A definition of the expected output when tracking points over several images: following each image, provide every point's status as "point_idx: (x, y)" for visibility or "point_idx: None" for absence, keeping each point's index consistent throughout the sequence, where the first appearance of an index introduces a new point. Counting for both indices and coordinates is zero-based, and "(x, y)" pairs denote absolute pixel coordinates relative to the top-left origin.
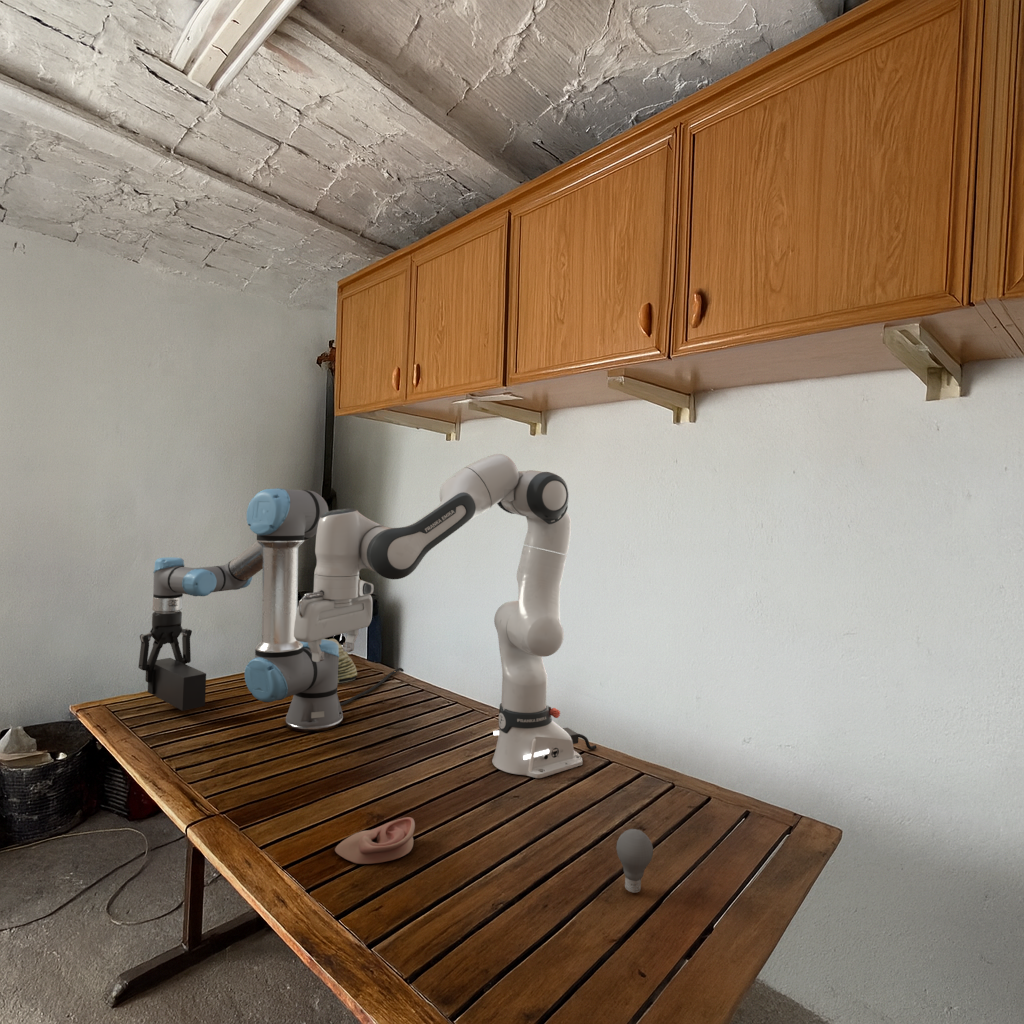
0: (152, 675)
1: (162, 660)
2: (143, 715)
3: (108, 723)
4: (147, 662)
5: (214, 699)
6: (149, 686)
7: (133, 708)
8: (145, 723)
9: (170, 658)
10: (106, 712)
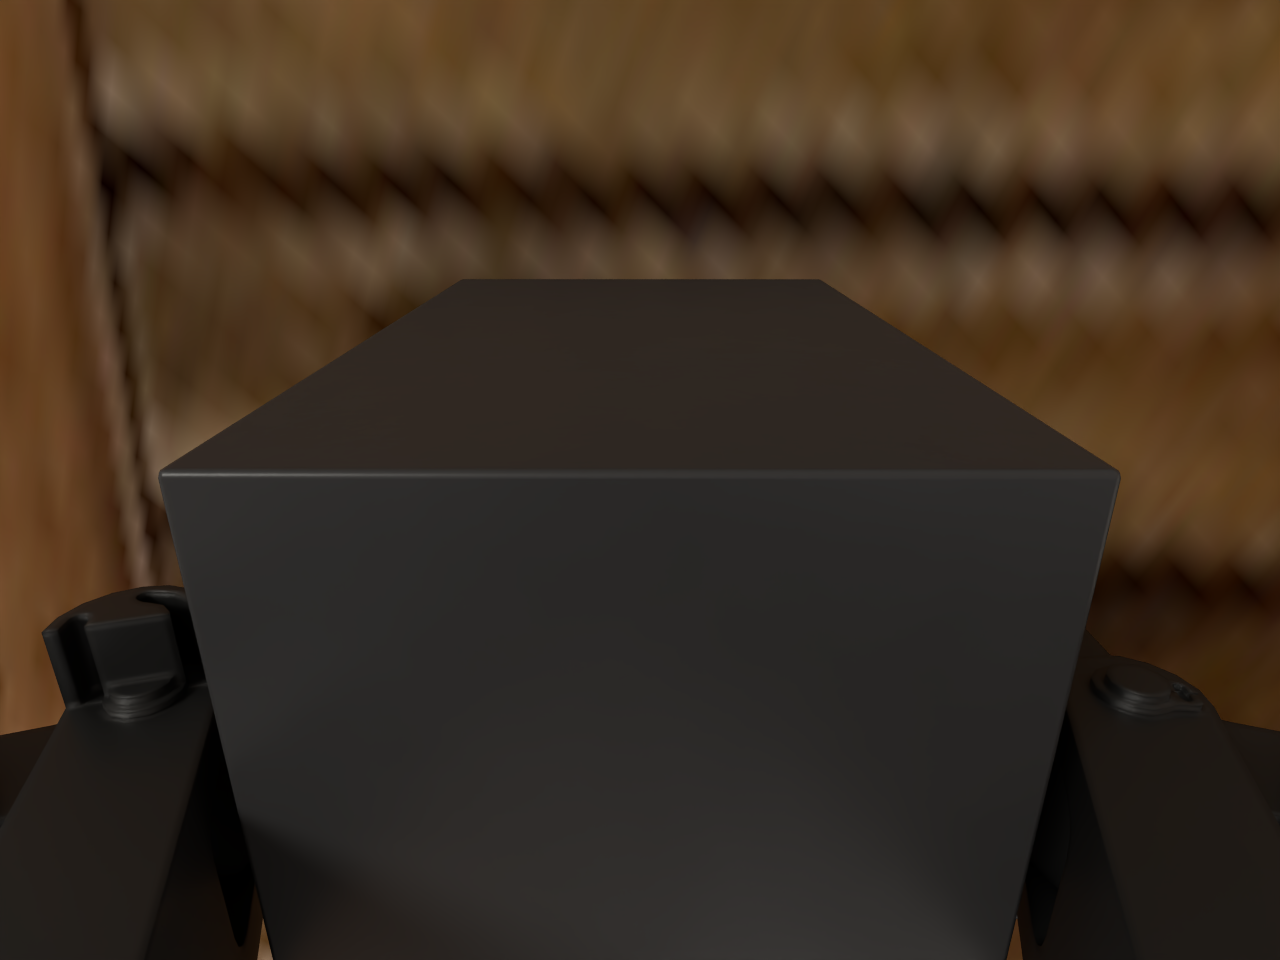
0: None
1: (653, 695)
2: None
3: (24, 544)
4: (6, 857)
5: (1187, 531)
6: None
7: (348, 206)
8: None
9: (1043, 597)
10: (29, 131)
